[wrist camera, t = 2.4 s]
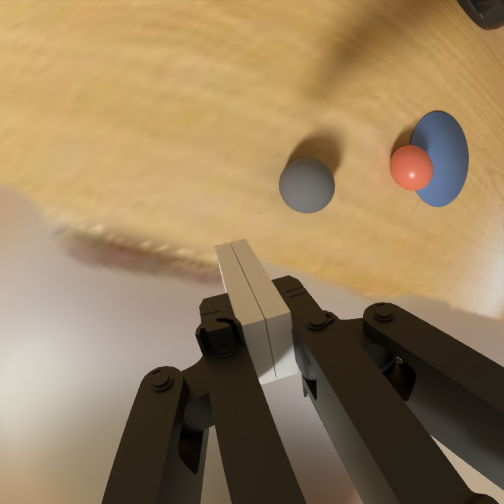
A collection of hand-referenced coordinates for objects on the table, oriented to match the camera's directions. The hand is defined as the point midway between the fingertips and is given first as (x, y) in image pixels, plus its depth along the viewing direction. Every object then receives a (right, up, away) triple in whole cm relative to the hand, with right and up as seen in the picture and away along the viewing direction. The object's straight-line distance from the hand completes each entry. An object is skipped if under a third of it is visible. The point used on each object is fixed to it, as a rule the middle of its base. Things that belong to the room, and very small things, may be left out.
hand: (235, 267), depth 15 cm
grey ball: (+6, +7, +14) cm, 17 cm away
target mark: (+28, +14, +19) cm, 36 cm away
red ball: (+20, +11, +15) cm, 27 cm away
